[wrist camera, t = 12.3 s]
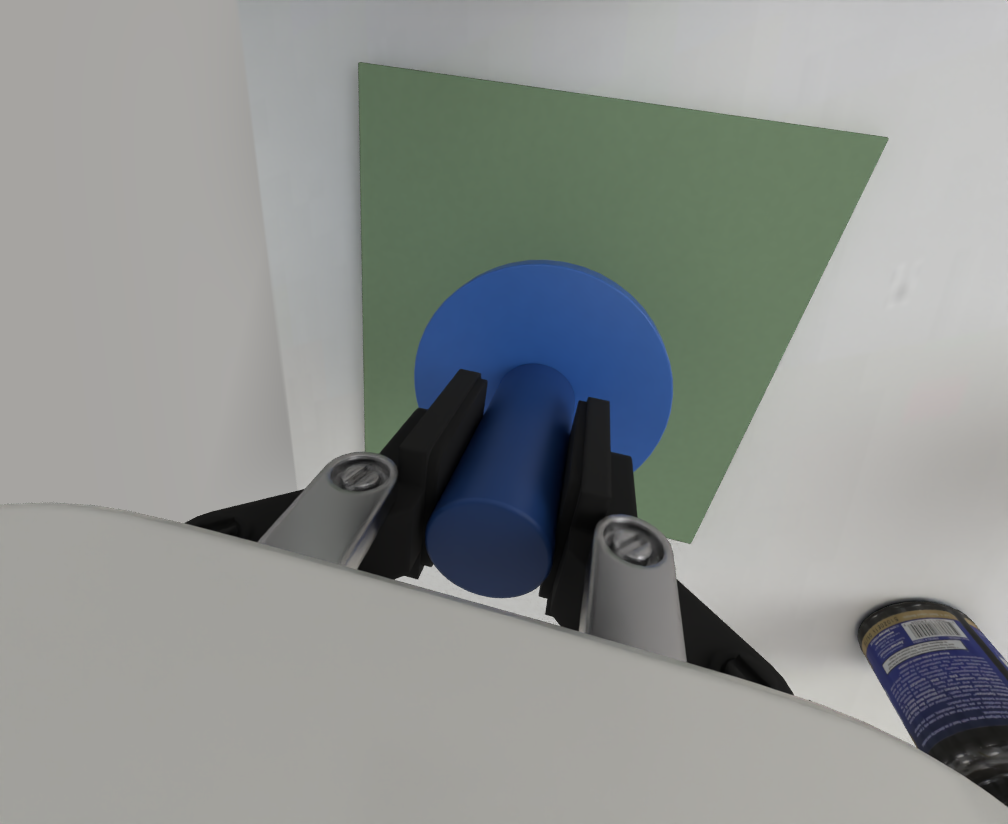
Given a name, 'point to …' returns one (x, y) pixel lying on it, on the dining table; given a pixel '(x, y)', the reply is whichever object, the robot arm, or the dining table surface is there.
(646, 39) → the dining table surface
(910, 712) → the pill bottle
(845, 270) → the dining table surface
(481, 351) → the blue peg stand
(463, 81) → the mat
